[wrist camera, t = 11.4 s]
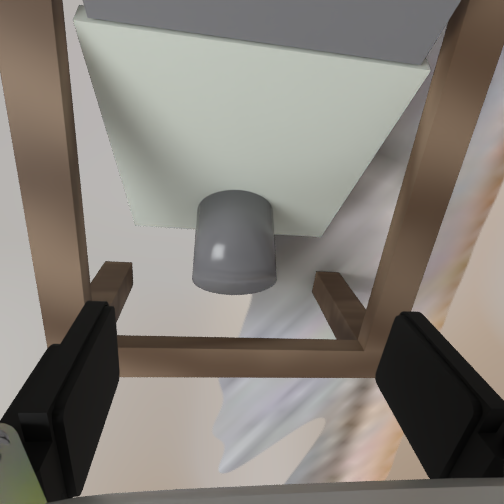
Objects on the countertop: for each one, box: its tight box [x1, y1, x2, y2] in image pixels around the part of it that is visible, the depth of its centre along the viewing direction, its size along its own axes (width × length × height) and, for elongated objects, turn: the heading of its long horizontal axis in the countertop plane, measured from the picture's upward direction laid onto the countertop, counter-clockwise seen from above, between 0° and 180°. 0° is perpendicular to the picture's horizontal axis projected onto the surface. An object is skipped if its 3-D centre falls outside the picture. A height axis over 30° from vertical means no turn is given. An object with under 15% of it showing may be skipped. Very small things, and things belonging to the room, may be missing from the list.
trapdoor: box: [73, 0, 461, 237], centre depth 18 cm, size 17×14×2 cm
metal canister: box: [192, 190, 277, 295], centre depth 22 cm, size 5×5×5 cm
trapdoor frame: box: [0, 0, 504, 378], centre depth 19 cm, size 22×19×10 cm
